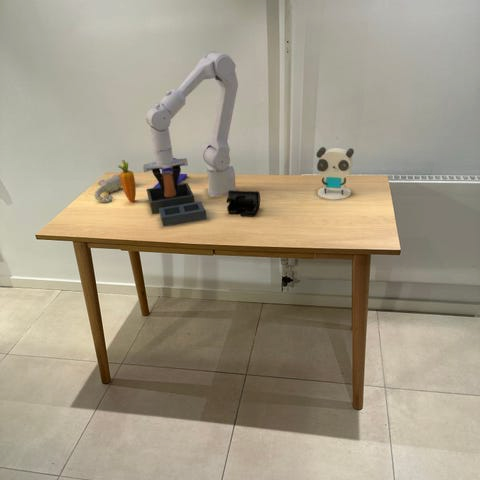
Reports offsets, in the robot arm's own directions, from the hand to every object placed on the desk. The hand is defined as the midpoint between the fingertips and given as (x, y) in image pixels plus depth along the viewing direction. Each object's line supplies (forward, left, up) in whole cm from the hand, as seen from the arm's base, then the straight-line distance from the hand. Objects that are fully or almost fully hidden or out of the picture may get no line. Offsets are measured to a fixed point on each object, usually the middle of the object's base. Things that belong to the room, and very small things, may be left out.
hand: (169, 189), depth 160 cm
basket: (0, 0, -6) cm, 6 cm away
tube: (0, 0, -2) cm, 2 cm away
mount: (-2, -20, -6) cm, 21 cm away
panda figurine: (-55, +12, -6) cm, 57 cm away
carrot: (+13, -7, -6) cm, 16 cm away
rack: (-2, +13, -6) cm, 14 cm away
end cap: (-22, +15, -6) cm, 27 cm away
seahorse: (+19, -20, -6) cm, 28 cm away
